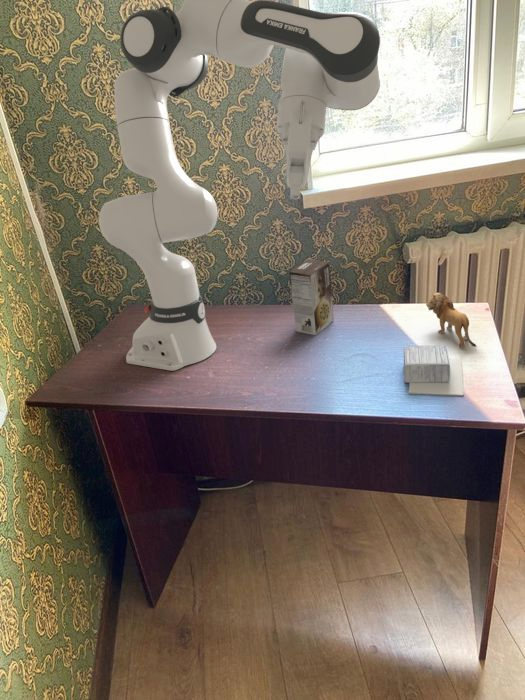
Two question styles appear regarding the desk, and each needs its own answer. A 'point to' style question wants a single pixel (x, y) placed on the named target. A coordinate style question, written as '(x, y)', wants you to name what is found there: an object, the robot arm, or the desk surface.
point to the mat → (442, 383)
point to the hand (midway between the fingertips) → (294, 196)
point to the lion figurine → (449, 317)
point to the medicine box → (426, 364)
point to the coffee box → (312, 296)
